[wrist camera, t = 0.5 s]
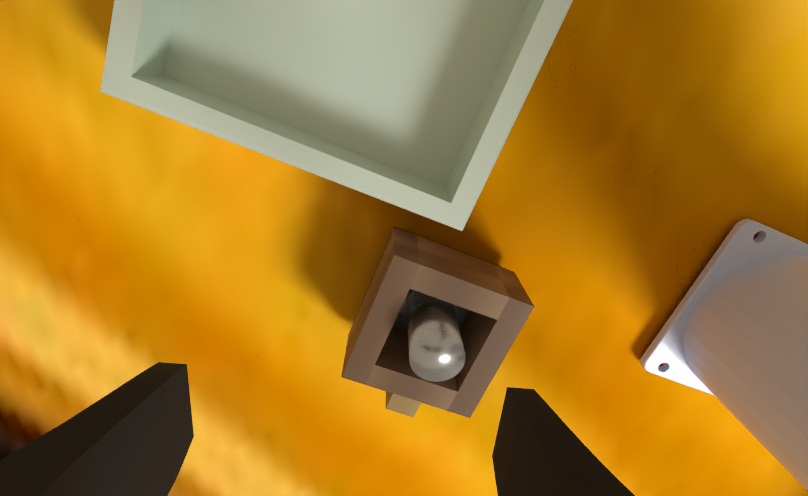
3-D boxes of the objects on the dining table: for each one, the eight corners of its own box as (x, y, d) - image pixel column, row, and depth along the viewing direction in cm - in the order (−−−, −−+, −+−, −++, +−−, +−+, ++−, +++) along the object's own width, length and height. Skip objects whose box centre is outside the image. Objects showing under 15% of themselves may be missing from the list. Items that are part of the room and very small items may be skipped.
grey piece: (503, 270, 20) (532, 324, 16) (455, 359, 22) (470, 429, 17) (397, 230, 19) (398, 276, 15) (356, 325, 21) (347, 391, 17)
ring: (514, 272, 19) (534, 306, 17) (452, 384, 22) (461, 432, 19) (394, 226, 19) (394, 254, 16) (342, 348, 21) (334, 392, 18)
